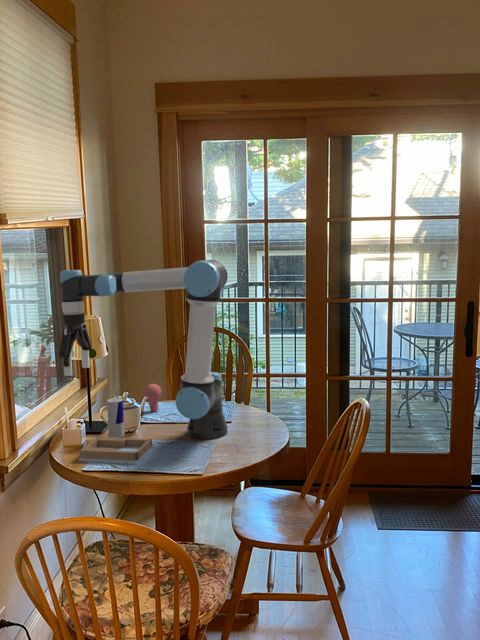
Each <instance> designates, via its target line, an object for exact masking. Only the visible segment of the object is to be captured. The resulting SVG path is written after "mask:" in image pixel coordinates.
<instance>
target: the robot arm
mask: <svg viewBox="0 0 480 640" xmlns="http://www.w3.org/2000/svg"><path fill="white" fill-rule="evenodd" d="M59 279H60V280H59V281H60V282H59V284H60V293H61V294H60V295H61V309H62V313H63V315H62V323H63V325H64V326H66V328H63V329H62V330H61V331H62V332H61V333H62V334H61V341H60V348H59V352H58V356H59V358H62V361H63V373H64V375H63V376H64V377H72V376H74V375H73V363H72V362H73V361H72V360H73V359H72V356H71V353H72V350H73V347H74V344H75V342H76V340H77V342H78V344H79V346H80V348H81V350H80V354H81V368H82V369H88V368H89V369H90V367H91V365H90V363H91V362H90V350H92V346H91V345H92V342H91V339H90V336H89V333H88V329H87V324H85V323H86V319H85V318H86V317H85V313H84V312H85V303H84V297H104V298H105V297H111V296H114V294H123V293H125V294H126V293H138V292H151V291H153V292H154V291H166V290H179V289H180V290H181V289H183V290H184V289H186V290H185V291H186V293H185V294H186V295H185V299H186V301H187V302H188V303H189V317H188V332H187V346H186V361H185V362H186V363H185V373H184V374H183V375H181V376H180V382H179V383H180V387H179V391H178V392H177V394H176V397H175V406H176V407H175V408H176V409H177V411H178V412H179V413H180V414H181V415H182V416H183V417H185V418H186V419H189V420H188V423H187V428H186V433H187V435H188V436H189V437H190V438H194V439H201V440H210V439H211V440H212V439H218V438H221V437H223V436H225V435H227V434H228V423H227V421H226V418H225V415H224V413H223V385H222V383H223V380H222V379H223V378H222V374H221V373H220V372H217V371H212V369H211V368H212V357H213V356H212V355H213V344H214V343H213V342H214V331H215V330H214V328H215V316H216V306H217V305H219V303H220V302H221V296H222V295H221V294H222V289H223V288H224V287H225V286H226V284H227V282H228V270H227V269H226V267H225V266H224V265H223V263H221V261H218V260H215V259H205V260H204V259H203V260H202V259H201V260H196V261H195V262H193V263H192V264H190V265H189V266H186V267H175V268H164V269H163V268H162V269H152V270H151V269H149V270H138V271H136V270H135V271H125V272H111V273H104V274H103V273H102V274H89V275H87V274H83V272H82V270H81V269H67V270H66V269H65V270H61V271H60V273H59Z"/></svg>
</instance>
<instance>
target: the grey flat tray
mask: <svg viewBox="0 0 480 640" xmlns="http://www.w3.org/2000/svg"><path fill="white" fill-rule="evenodd" d="M153 448H154V445H153V440H152V438H137V437H135V438H133V437H125V438H116V437H109V436H97V437H95V438H94V439H93V440H91V441H90V442H89V443H87V444H86V445H85V446H84V447H82V448H81V449H79V458H78V462H86V463H87V462H91V463H107V464H123V463H128V464H129V465H137V464H138V463H139V462H140V461H141V460H142V459H143V458H144V457H145V456H146V455H147V454H148V453H149V452H150V451H151V450H152V449H153Z"/></svg>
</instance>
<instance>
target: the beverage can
mask: <svg viewBox="0 0 480 640" xmlns="http://www.w3.org/2000/svg"><path fill="white" fill-rule="evenodd" d="M106 401H107V402H106V403H107V405H106V406H107V408H106V409H107V425H108V426H107V427H108V437H116V438H126V437H125V418H124V415H125V414H124V401H123V398H120V397H117V398H116V397H115V398H109V399H107V400H106Z"/></svg>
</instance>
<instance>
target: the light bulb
mask: <svg viewBox="0 0 480 640" xmlns="http://www.w3.org/2000/svg"><path fill="white" fill-rule="evenodd" d="M144 396H145V398H146V397H148V399H147V398H146V400H147V402H148V405H149V410H151V412H156V410H157V411H158V410H159V400H160V398H161V396H162V388H161V387H160V385H158V384H156V383H149V384H148V385H147V386H146V387H145V388H144Z"/></svg>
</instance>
